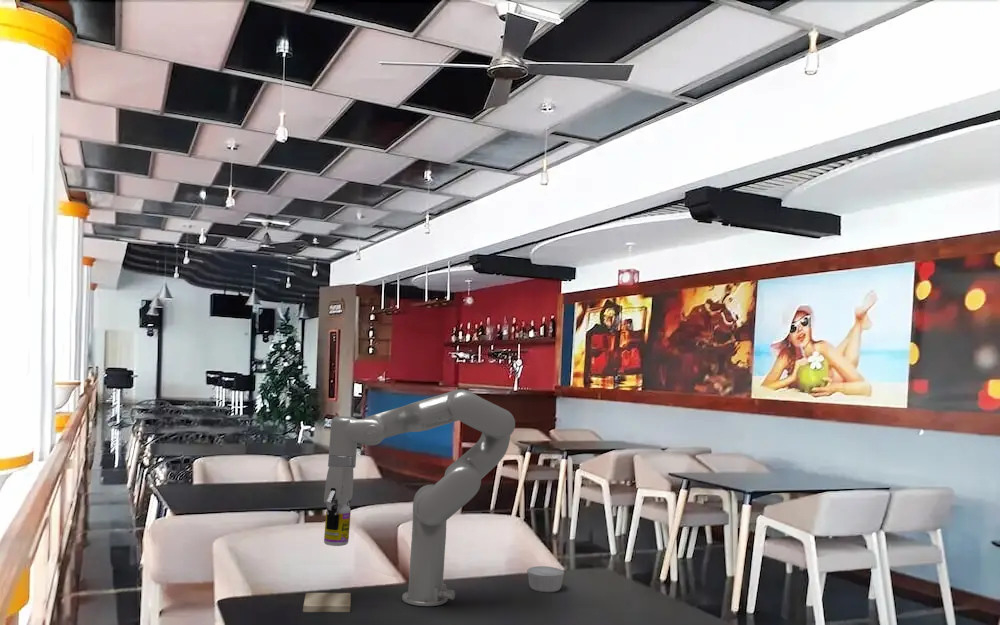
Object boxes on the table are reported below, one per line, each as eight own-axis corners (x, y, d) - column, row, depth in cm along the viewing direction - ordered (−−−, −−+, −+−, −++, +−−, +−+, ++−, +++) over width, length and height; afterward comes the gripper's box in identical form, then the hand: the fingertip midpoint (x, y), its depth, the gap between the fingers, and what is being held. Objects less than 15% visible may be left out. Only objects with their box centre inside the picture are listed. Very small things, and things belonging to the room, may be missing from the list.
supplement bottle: (341, 547, 215) (345, 499, 216) (319, 545, 217) (322, 497, 217) (352, 542, 221) (355, 496, 222) (330, 540, 223) (333, 493, 224)
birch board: (350, 598, 219) (350, 593, 219) (350, 612, 208) (350, 606, 208) (305, 598, 217) (306, 592, 217) (302, 612, 205) (303, 606, 206)
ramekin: (524, 591, 237) (525, 573, 237) (529, 581, 248) (529, 564, 248) (561, 595, 235) (562, 576, 235) (564, 585, 246) (565, 568, 246)
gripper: (340, 457, 230) (336, 520, 228) (316, 463, 213) (311, 531, 211) (365, 459, 228) (361, 522, 227) (343, 466, 211) (338, 534, 210)
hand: (337, 526), depth 219 cm, fingers closed on supplement bottle, 6 cm apart
